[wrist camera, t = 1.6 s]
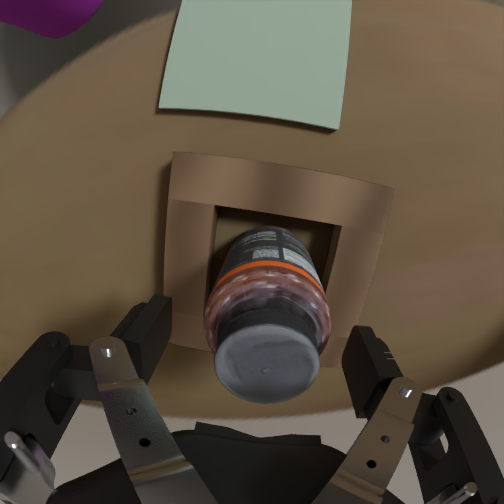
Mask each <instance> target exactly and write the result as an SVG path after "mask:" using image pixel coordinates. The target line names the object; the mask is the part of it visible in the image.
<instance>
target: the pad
mask: <svg viewBox="0 0 504 504" xmlns="http://www.w3.org/2000/svg"><path fill="white" fill-rule="evenodd" d="M351 5H352V0H182V4H181V7H180V11H179V14H178V18H177V22H176V25H175V29H174V33H173V37H172V42H171V46H170V50H169V55H168V59H167V64H166V69H165V74H164V79H163V84H162V90H161V96H160V102H159V108H161V109H181V110H199V111H213V112H224V113H234V114H243V115H252V116H259V117H266V118H273V119H280V120H286V121H292V122H297V123H303V124H308V125H313V126H318V127H323V128H328V129H332V130H339V124H340V116H341V109H342V102H343V94H344V85H345V77H346V67H347V57H348V47H349V35H350V21H351Z"/></svg>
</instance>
